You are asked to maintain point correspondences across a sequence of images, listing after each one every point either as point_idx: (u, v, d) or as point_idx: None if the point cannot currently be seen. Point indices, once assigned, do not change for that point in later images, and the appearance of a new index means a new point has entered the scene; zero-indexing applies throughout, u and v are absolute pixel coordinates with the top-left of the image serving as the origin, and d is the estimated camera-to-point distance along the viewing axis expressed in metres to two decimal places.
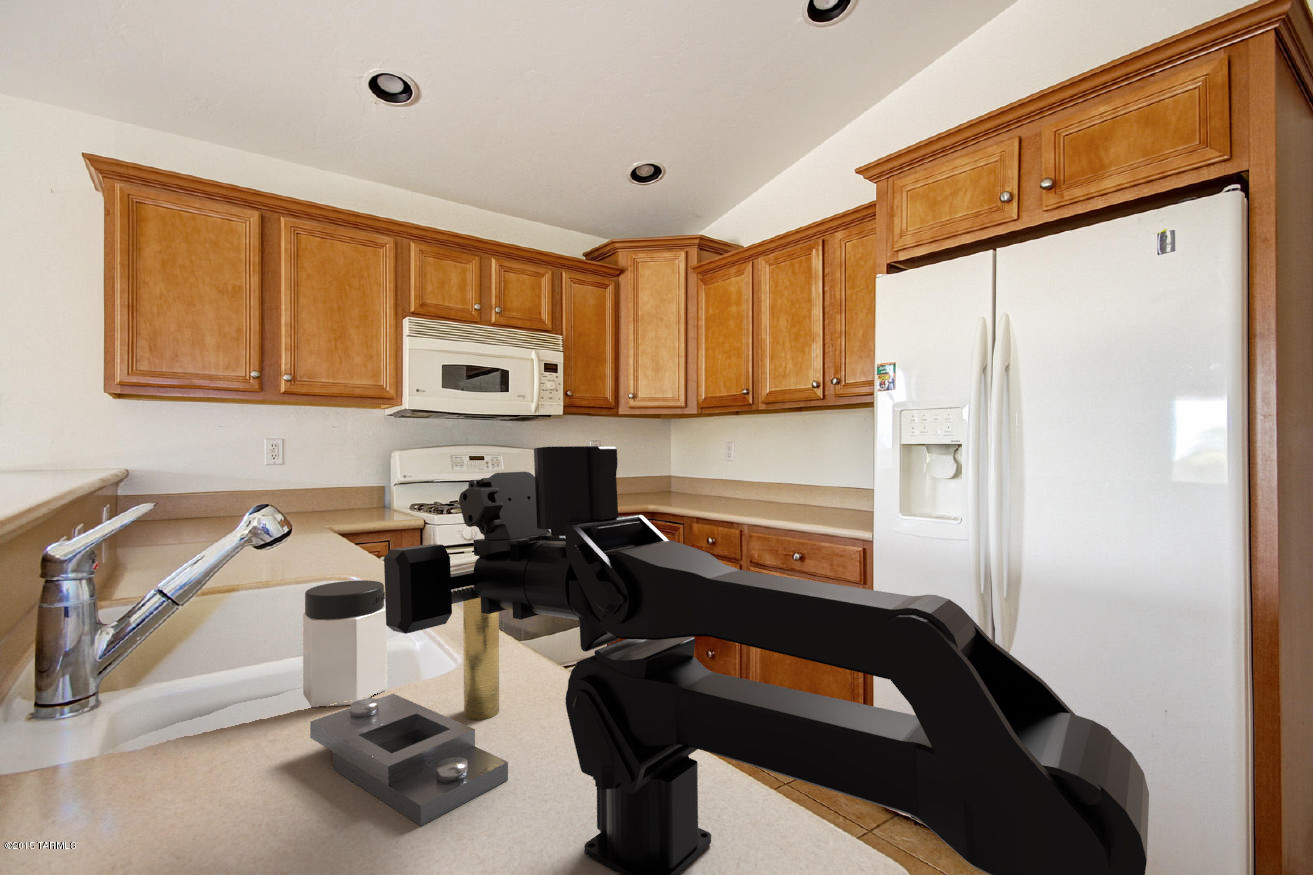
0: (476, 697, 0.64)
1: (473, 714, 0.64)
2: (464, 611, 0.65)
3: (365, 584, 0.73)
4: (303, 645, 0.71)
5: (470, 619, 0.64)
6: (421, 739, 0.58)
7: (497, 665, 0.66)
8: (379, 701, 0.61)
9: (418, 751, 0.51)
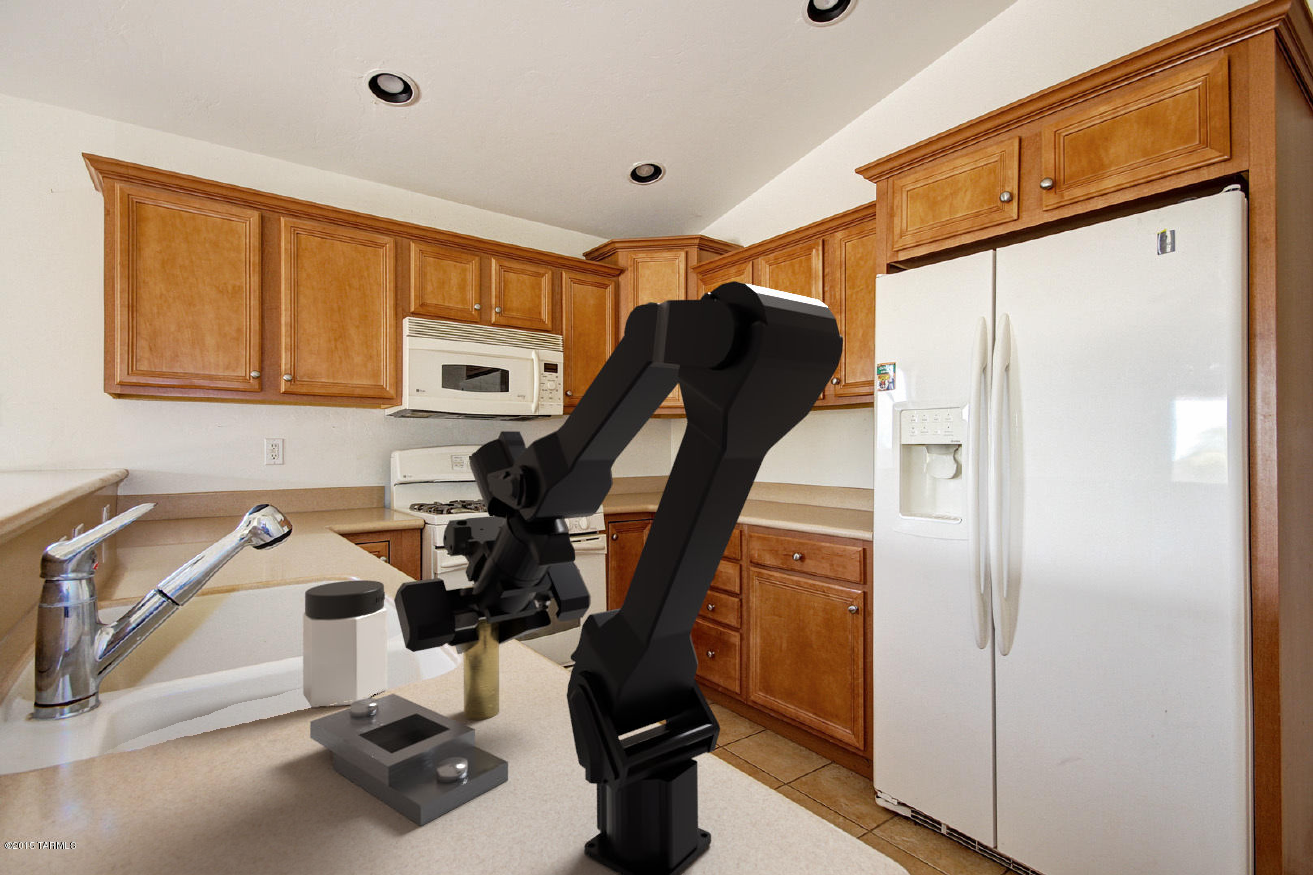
0: (476, 697, 0.64)
1: (473, 714, 0.64)
2: None
3: (365, 584, 0.73)
4: (303, 645, 0.71)
5: None
6: (421, 739, 0.58)
7: (497, 665, 0.66)
8: (379, 701, 0.61)
9: (418, 751, 0.51)
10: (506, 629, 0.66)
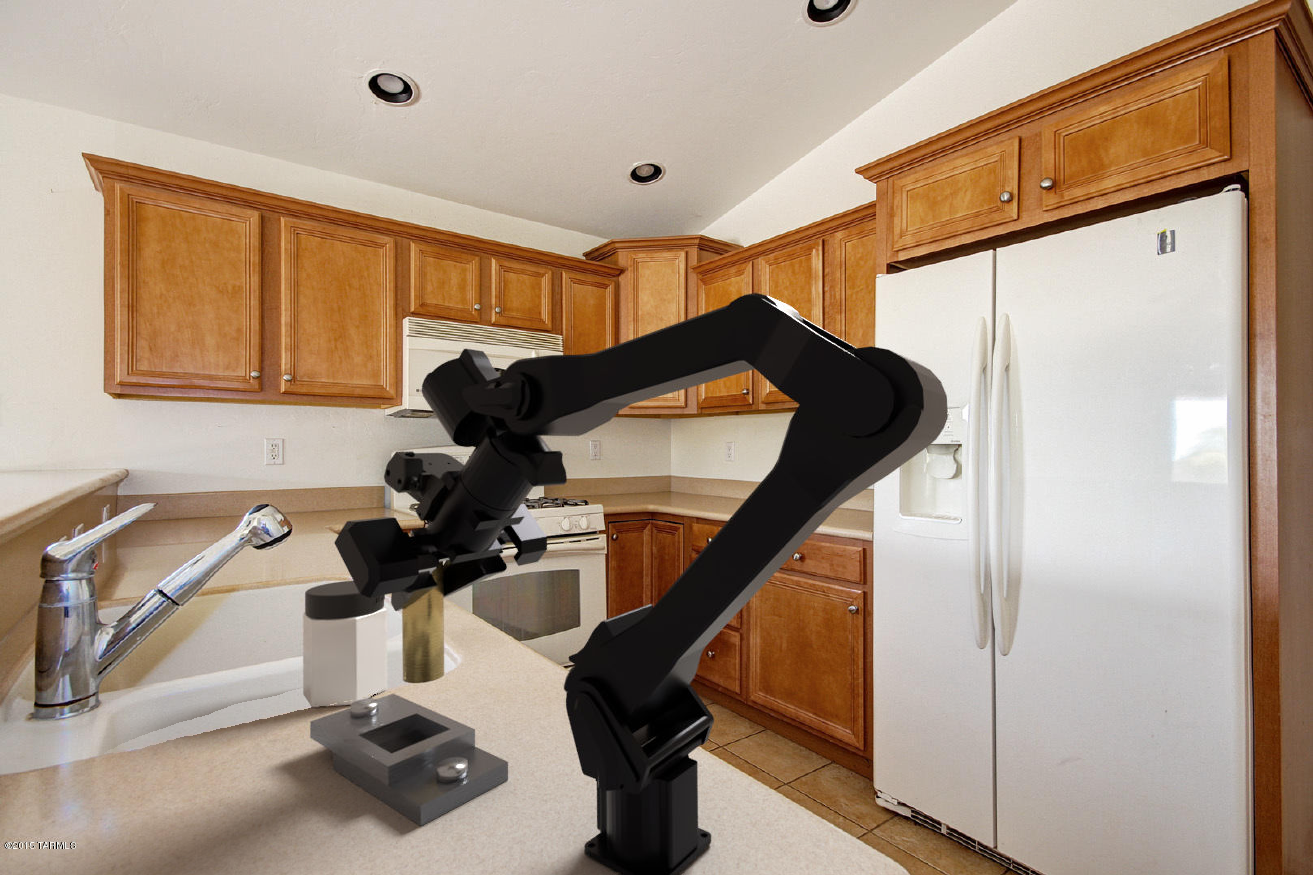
0: (422, 656, 0.56)
1: (418, 677, 0.56)
2: None
3: None
4: (303, 645, 0.71)
5: None
6: (421, 739, 0.58)
7: (443, 620, 0.58)
8: (379, 701, 0.61)
9: (418, 751, 0.51)
10: (453, 579, 0.59)
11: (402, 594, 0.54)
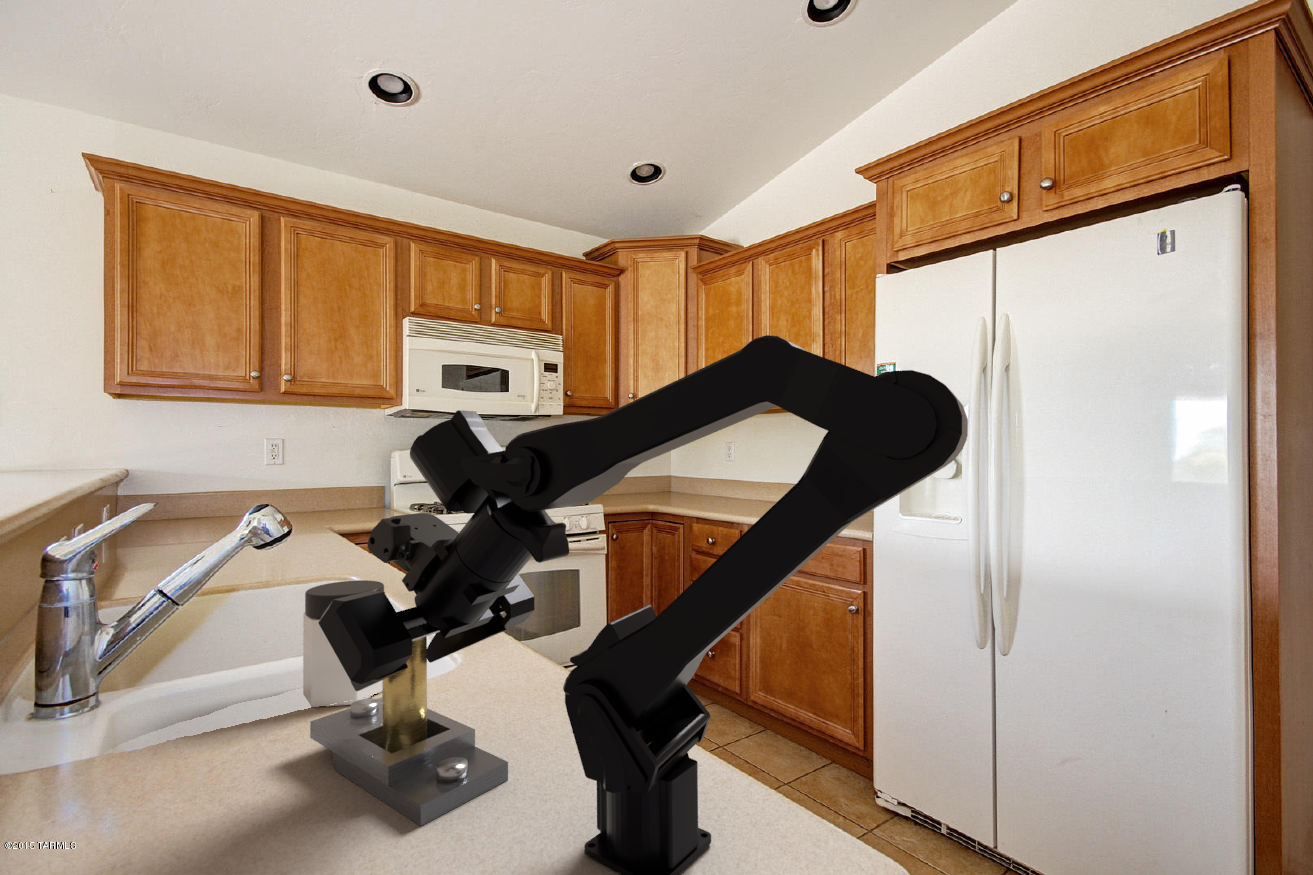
0: None
1: None
2: None
3: (365, 584, 0.73)
4: (303, 645, 0.71)
5: None
6: None
7: (426, 706, 0.55)
8: (379, 701, 0.61)
9: (418, 751, 0.51)
10: (452, 640, 0.57)
11: None
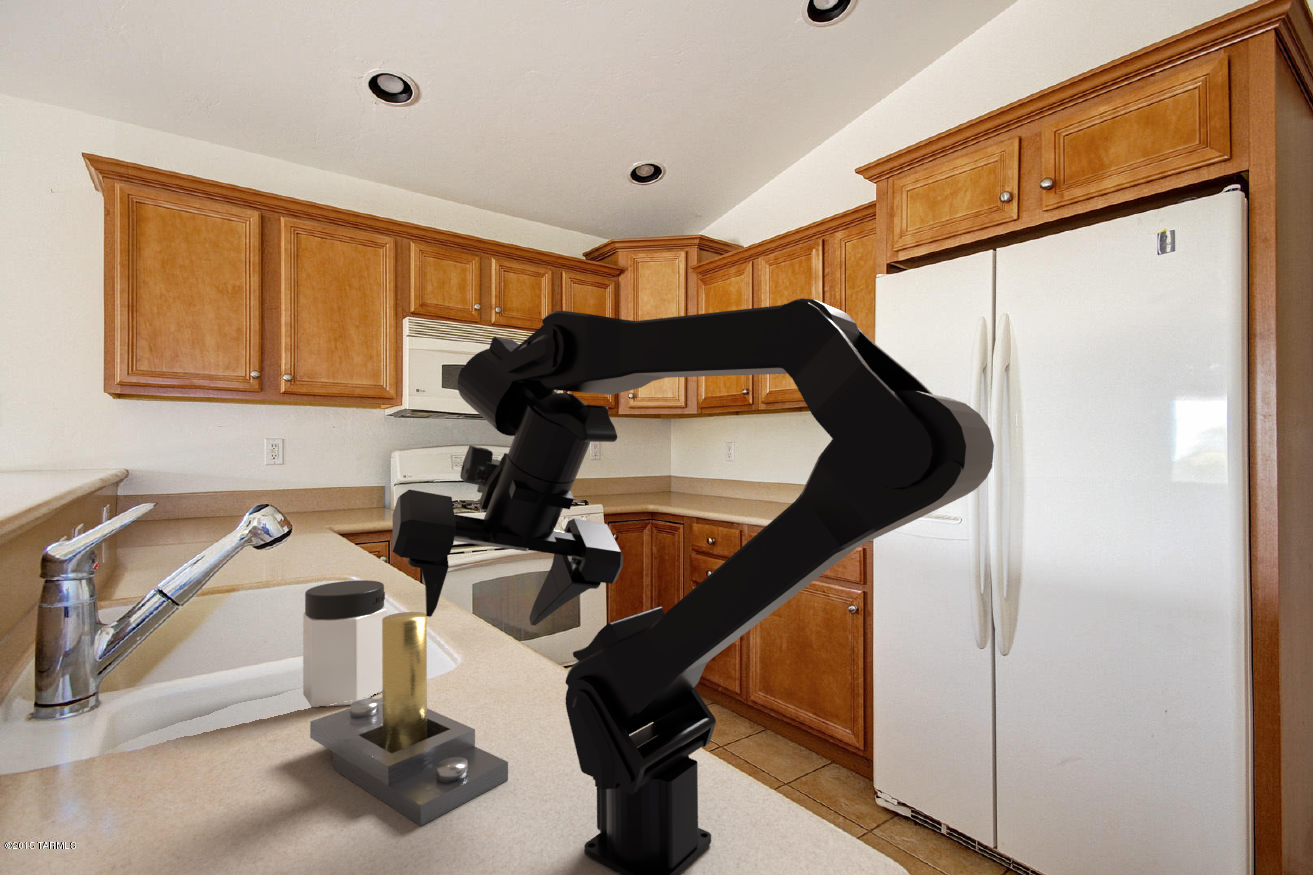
0: None
1: None
2: (387, 647, 0.53)
3: (365, 584, 0.73)
4: (303, 645, 0.71)
5: (398, 656, 0.53)
6: None
7: (426, 706, 0.55)
8: (379, 701, 0.61)
9: (418, 751, 0.51)
10: (548, 595, 0.55)
11: None
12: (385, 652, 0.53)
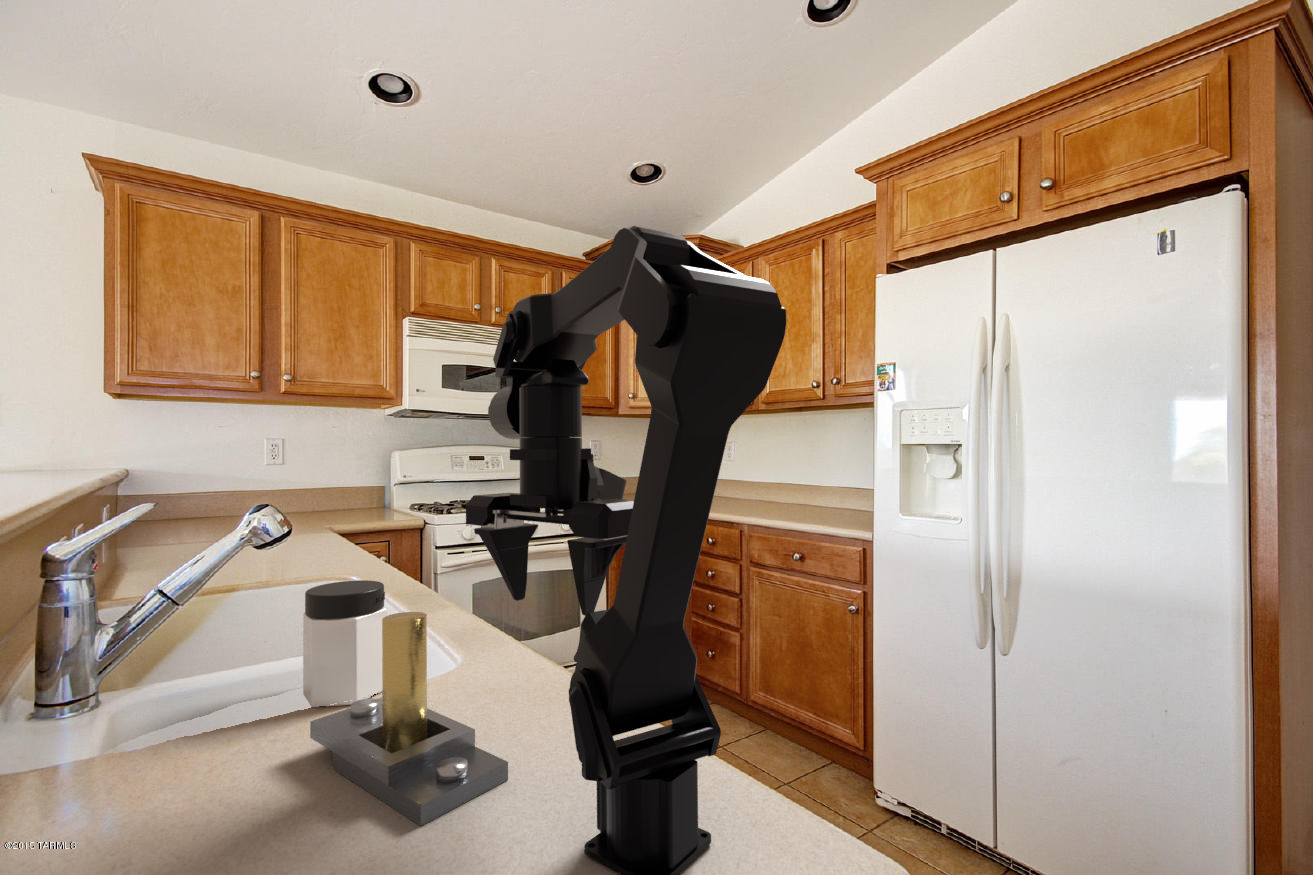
0: None
1: None
2: (387, 647, 0.53)
3: (365, 584, 0.73)
4: (303, 645, 0.71)
5: (398, 656, 0.53)
6: None
7: (426, 706, 0.55)
8: (379, 701, 0.61)
9: (418, 751, 0.51)
10: None
11: None
12: (385, 652, 0.53)
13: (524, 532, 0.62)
